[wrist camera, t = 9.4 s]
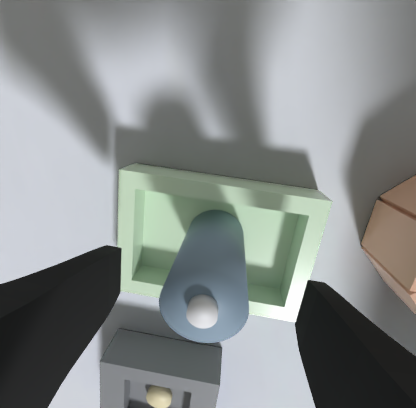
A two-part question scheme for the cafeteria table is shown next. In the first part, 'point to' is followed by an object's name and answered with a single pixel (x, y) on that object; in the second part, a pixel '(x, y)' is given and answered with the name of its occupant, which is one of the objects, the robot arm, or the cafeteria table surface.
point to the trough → (235, 205)
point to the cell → (208, 280)
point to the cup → (395, 240)
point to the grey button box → (158, 373)
